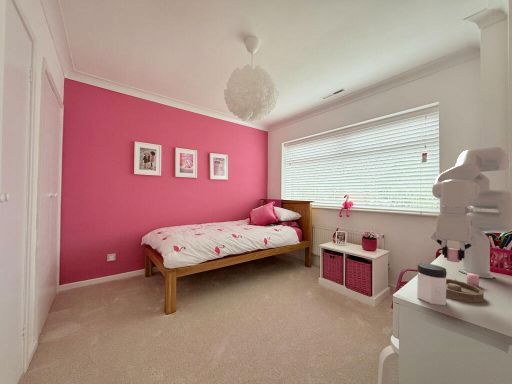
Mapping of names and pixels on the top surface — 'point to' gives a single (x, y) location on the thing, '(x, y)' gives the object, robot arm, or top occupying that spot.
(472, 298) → the tray
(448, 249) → the bead
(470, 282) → the bead
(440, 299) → the jar
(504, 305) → the top surface
